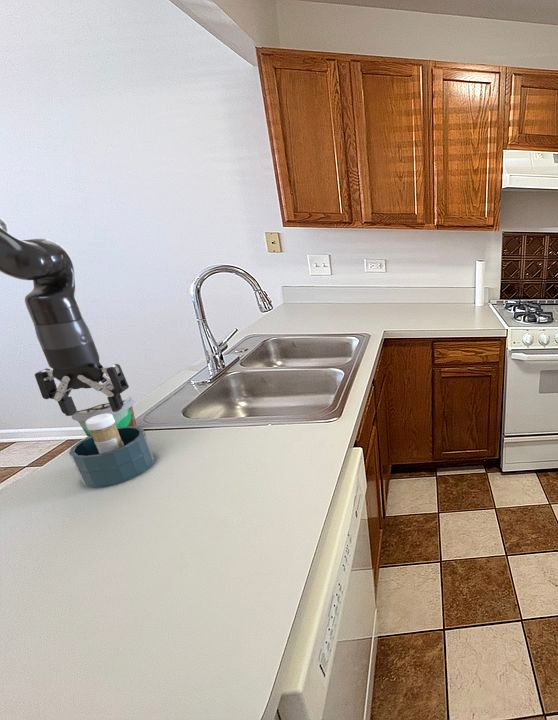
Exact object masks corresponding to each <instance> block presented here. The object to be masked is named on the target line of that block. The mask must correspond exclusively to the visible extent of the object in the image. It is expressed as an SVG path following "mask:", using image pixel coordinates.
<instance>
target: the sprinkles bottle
mask: <svg viewBox="0 0 558 720" xmlns="http://www.w3.org/2000/svg"><path fill="white" fill-rule="evenodd" d="M85 423H86V426H87V428H88V430H89V431H90V432H91V435H92V437H93V439H94V442H95V445H96V447H97V449H98V452H99V454H102V453H106V452H109V451H113V450H115V449H118V448H120V447H123V446H124V443H123V441H122V440H121V437H120V435H119V432H118V430H117V428H116V425H115V420H114V417H113V415H112V414H100V415H96V416H93V417H91V418H89V419H88V420H86V422H85Z"/></svg>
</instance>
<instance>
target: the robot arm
mask: <svg viewBox="0 0 558 720" xmlns="http://www.w3.org/2000/svg"><path fill="white" fill-rule="evenodd" d="M0 273H2V274H4V275H7V276H8V277H11V278H14V279H18V280H22V281H32V284H33V288H32V290H31V291H30V292H29V293H27V294H26V295H25V297H24V304H25V307H26V310H27V312H28V315H29V316H30V319H31V321H32V324H33V327H34V331H35V335H36V338H37V341H38V343H39V346H40V348H41V350H42V352H43V355H44V357H45V359H46V362H47V365H48V366H49V368H47V367H46V368H44V369H41V370H39V371H38V372H36V373H35V374H34V378H35V380H36V383H37V386H38V389H39V391H40V395H41V397H42V399H44V400H49V399H50V400H54V401H55V402H57V404H58V406H59V408H60V411H61V412H62V414H64V415H65V416H66V417H72V415H73V414H75V413H76V412H77V411H78V410H77V406H76V405H75V403H74V400H73V397H72V396H70V394H71V393H72V390H80V389H94V390H95V391H97V392H101V393H103V394H104V395H106V396H107V401H108V403H109V404H110V406H111V409H112V411H113V412H118V411H119V410H120V409H122V407H123V405H124V404H123V401H124V400H123V398H122V395H121V394H123V392H125V391H126V390H128V389H129V387H130V385H129V383H128V381H127V379H126V377H125V374H124V372H123V369H122V367H121V365H120V364H118V363H114V364H113V365H110V366H103V365H102V364H101V362H100V355H99V352H98V349H97V347H96V343H95V341H94V339H93V336H92V333H91V331H90V328H89V325H88V324H87V322H86V320H85V318H84V315H83V313H82V311H81V308H80V306H79V303H78V300H77V298H76V278H75V277H76V275H75V268H74V263H73V260H72V258H71V256H70V254H69V253H68V251H67V250H66V249H65V247H63V246H62V245H61V244H59V243H57V242H55V241H53V240H51V239H47V238H32V239H19V238H17V237H15V236H13V235H12V234H10V233H9V226H8V223H7V222H6V221H5V220H4V219H3V218H1V217H0ZM104 374H105V375H104ZM55 379H56V380H58V381H59V382H60V383H59V385H58V387H57V383H56V381H55ZM100 382H101V383H100Z"/></svg>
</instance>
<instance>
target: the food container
mask: <svg viewBox="0 0 558 720" xmlns="http://www.w3.org/2000/svg"><path fill="white" fill-rule="evenodd" d="M122 401H123V404H124V405H123V407H122V409H120V410H119V411H118V412H113V411H112V409H111V406H110V404H109V402H107V403H101V404H98V405H95V406H93V407H88V408H86V409H85V408H84V409H81V410H77V412H76V413H75V414H73V415H72V416H71V419H72V420H73V421H75V422H78V424H79V425H80V427H81V429H82V430H83V432H84V433H85V435H86V436H87V437H88V436H91V432H90V431H89V430H88V428H87V426H86V423H85V422H86V420H88V419H89V418H91V417H93V416H96V415H100V414H112V415H113V417H114V420H115V425H116V428H118V427H127V426H135V427H138V426H137V421H136V417H135V411H134V407H133V406H134V405H135V403H136V402H135V400H134V398H133V397H131V396H130V395H128V397H127V398H126V399H124V400H122Z"/></svg>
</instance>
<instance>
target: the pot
mask: <svg viewBox="0 0 558 720" xmlns="http://www.w3.org/2000/svg"><path fill="white" fill-rule="evenodd" d="M117 430H118V432H119V435H120V437H121V440H122V441H123V443H124V446H123V447H120V448H118V449H115V450H113V451H109V452H106V453H102V454H99V452H98V449H97V447H96V445H95V442H94V439H93V437H92V435H91V436H89V437H88V436H87V437H85V438H84V439H82V440H80V441H78V442H77V443H75V444H74V445H73V446H71V448H70V449H69V452H68V455H69V456H70V458H71V461H72V463H73V465H74V467H75V469H76V472H77V474H78V477H79V479H80V480H81V482H82V484H83V485H84V486H85V487H87V488H91V489H101V488H102V489H103V488H108V487H113V486H117V485H119V484H122V483H126V482H128V481H131V480H133V479H135V478H137V477H139V476H140V475H142V474H143V473H145V472H147V471H148V470H149V469H150V468H151V467H152V466H153V464H154V462H155V458H154V453H153V451H152V448H151V445H150V443H149V440H148V437H147V434H146V431H145V429H143V428H142V427H140V426H137V427H135V426H127V427H118V428H117Z"/></svg>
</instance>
